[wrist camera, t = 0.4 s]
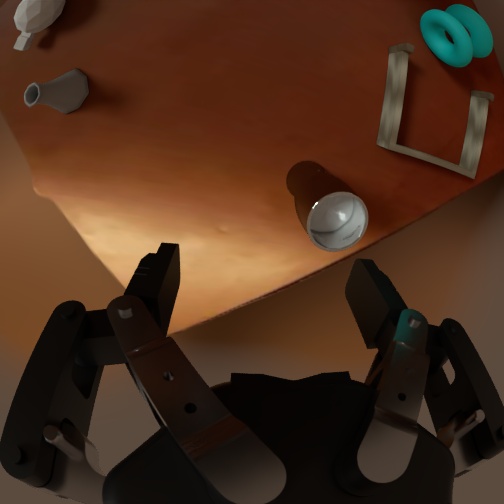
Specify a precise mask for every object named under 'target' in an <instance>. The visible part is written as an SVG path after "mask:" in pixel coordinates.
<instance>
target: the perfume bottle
mask: <svg viewBox="0 0 504 504" xmlns="http://www.w3.org/2000/svg"><path fill="white" fill-rule="evenodd" d="M65 2H66V1H65V0H22V2H21V3H20V5H19V6H18V8H17V11H16V13H15V16H14V20H15V24H16V27H17V29H19V30H21V31H22V33H21V36H19V37H18V39H17V41H16V44H15V46H14V49H18V50H21V51H23V50H27V49H29V47H30V45H31V43H32V41H33V38H34V37H33V35H34V33H36V32H40V31H41V30H43V29H45V28H46V27H48V26H50V25H51V24H52V23H53V22H54V21H55V20H56V19H57V18H58V17H59V15H60V14H61V13H62V10H63V7H64V5H65Z"/></svg>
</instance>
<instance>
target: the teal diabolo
mask: <svg viewBox="0 0 504 504" xmlns="http://www.w3.org/2000/svg"><path fill="white" fill-rule="evenodd" d="M463 25H464V26H465V27H466V28H467V29H468V31H469V32H470V35H471V38H470V36H469V34H468V32H467V31H466V29H465V28H464V26H463ZM420 28H421V32H422V35H423V38H424V40H425V42H426V44H427V45H428V47H429V48H430V49H431V51H432V52H433V53H434V54H435V55H436V56H437V57H438V58H439V59H440V60H442V61H443V62H444V63H446V64H448V65H450V66H453V67H464V66H466V65H468V64H469V63H470V61H471V60H472V57H477V58H483V57H486V56H488V55H489V54H490V53H491V51H492V49H493V38H492V34H491V32H490V29H489V27H488V25H487V24H486V22H485V21H484V20H483V18H482V17H481V16H480V15H479V14H478V13H477V12H475V11H474V10H472V9H471V8H469V7H467V6H464V5H460V4H454V5H451V6H449V7H448V8H447V9H446V11H445V12H444V11H441V10H435V9H434V10H429V11H426V12H425V13H424V14H423V15H422V17H421V21H420ZM445 30H446V31H447V32H448V34H449V35H450V37H451V39H452V40H453V42H454V44H452V43H451V42H450V41H449V40H448V39H447V37H446V35H445Z"/></svg>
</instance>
